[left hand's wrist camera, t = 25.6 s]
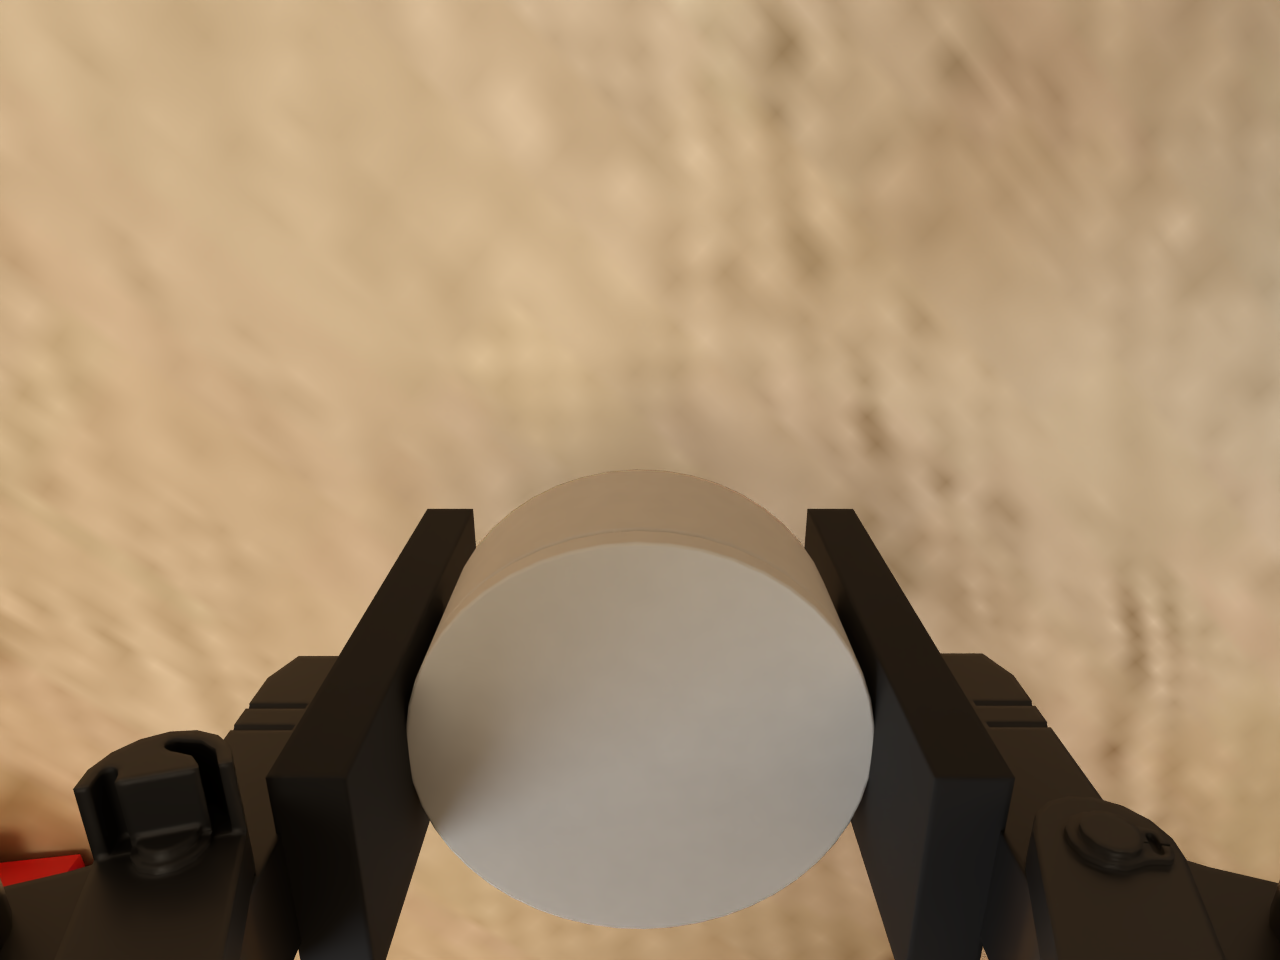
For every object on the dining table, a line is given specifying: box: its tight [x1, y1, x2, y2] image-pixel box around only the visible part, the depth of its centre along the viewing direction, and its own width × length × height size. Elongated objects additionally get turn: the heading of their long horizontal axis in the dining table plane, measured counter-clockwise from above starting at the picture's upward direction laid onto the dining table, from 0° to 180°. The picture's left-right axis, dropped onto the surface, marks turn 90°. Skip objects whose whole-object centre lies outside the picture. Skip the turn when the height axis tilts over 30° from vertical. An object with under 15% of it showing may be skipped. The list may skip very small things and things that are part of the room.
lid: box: [406, 470, 874, 929], centre depth 11 cm, size 6×6×2 cm
